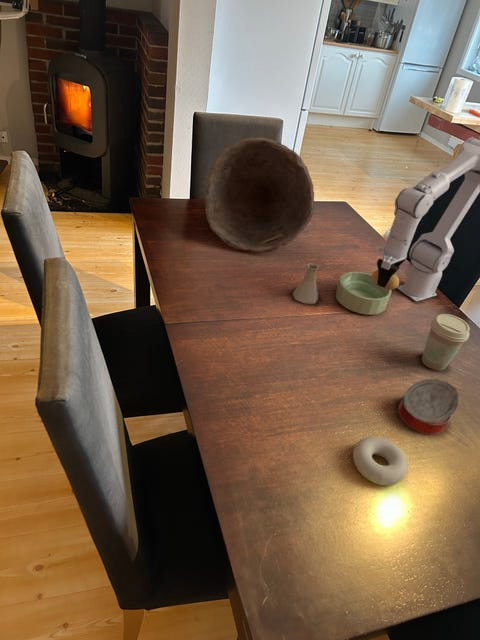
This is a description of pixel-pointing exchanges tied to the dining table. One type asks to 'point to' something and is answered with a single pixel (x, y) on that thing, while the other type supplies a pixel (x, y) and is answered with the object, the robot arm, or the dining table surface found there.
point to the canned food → (428, 405)
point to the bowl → (259, 195)
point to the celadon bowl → (361, 293)
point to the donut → (376, 471)
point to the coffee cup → (444, 340)
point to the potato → (391, 284)
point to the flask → (308, 286)
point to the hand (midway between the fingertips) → (384, 282)
